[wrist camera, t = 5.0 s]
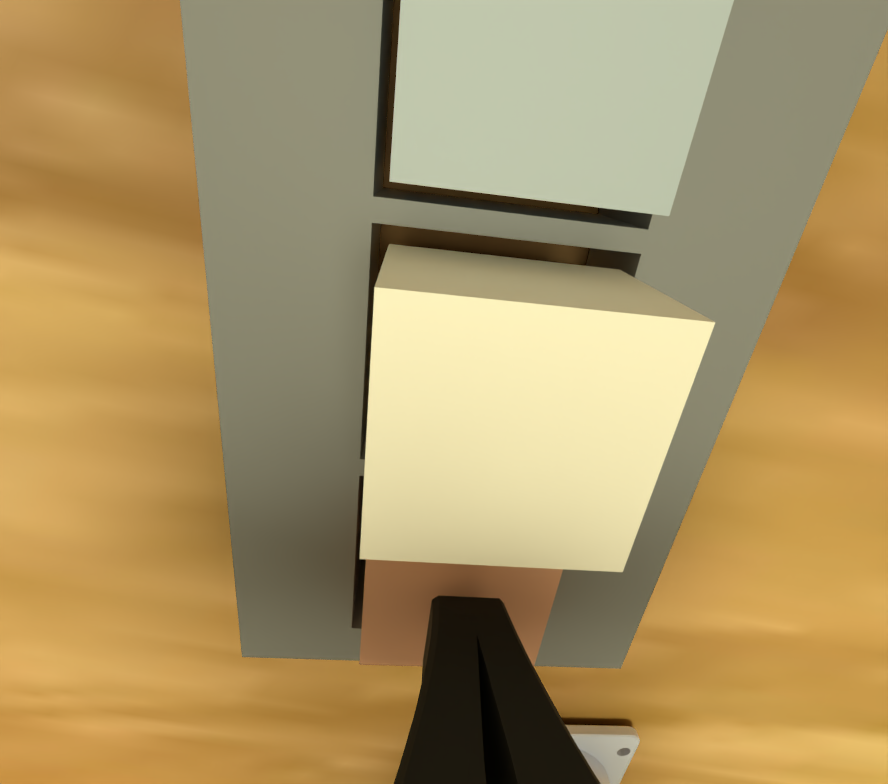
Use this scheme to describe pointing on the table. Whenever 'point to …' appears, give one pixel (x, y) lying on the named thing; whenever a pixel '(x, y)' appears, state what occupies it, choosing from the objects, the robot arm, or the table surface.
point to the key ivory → (518, 409)
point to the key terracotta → (416, 583)
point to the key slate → (553, 97)
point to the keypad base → (369, 205)
